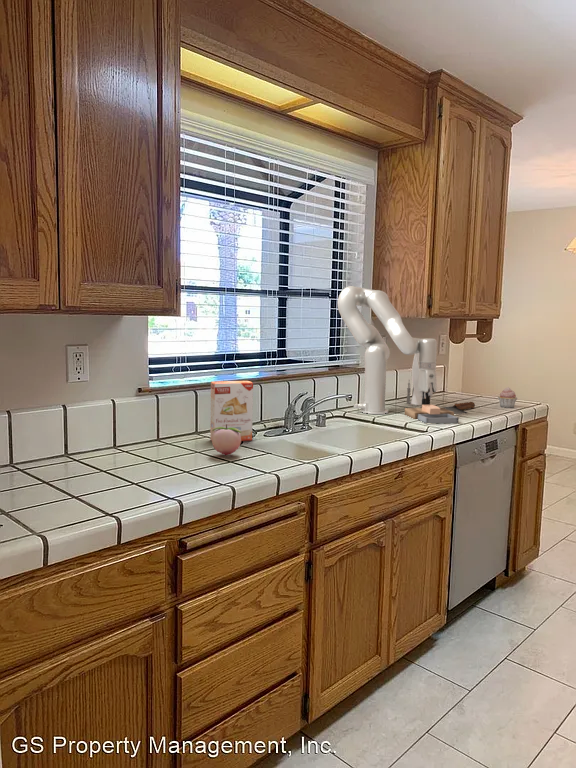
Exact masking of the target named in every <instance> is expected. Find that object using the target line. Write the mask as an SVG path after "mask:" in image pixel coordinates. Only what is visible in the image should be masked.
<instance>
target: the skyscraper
mask: <svg viewBox="0 0 576 768" xmlns="http://www.w3.org/2000/svg"><path fill="white" fill-rule="evenodd" d="M413 355H414V356H413V360H412V365H411V366H412V367H411V380H412V387H413V388H412V389H413V392H412V396H411V388H410V387H411V383H410V379H408V383H407V385H408V386H407V388H406V389H407V394H406V403H405V405H406V404H408V406H411V405H413V406H412V407H422V393H421V392H420V390H419V389H418V379H419V353H417V354H413Z"/></svg>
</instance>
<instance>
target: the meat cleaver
mask: <svg viewBox="0 0 576 768" xmlns="http://www.w3.org/2000/svg"><path fill="white" fill-rule="evenodd" d="M475 407H476V404H475V402H474V401H469V402H468V401H465V402H460V403H454V404H453V405H452V406H445V407H444V406H443V407H442V408H444V409H447V410H450V411H452V412H454V414H459V415H463V414H462V413H465V414H469V412H467V411H466V410H470V409H474V408H475ZM465 409H466V410H465Z"/></svg>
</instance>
